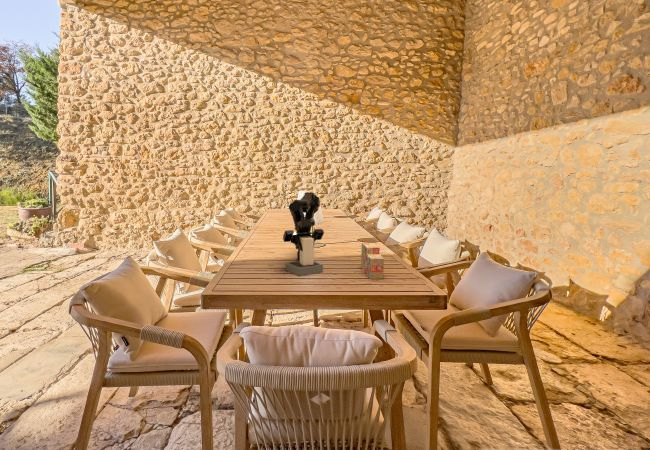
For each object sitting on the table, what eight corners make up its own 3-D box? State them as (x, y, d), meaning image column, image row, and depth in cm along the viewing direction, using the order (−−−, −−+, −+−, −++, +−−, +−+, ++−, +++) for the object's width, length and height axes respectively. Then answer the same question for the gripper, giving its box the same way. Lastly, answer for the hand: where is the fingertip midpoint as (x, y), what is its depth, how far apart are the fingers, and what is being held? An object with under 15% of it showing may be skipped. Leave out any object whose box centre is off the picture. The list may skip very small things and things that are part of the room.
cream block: (299, 262, 174) (299, 237, 173) (309, 261, 176) (310, 236, 175) (303, 265, 170) (303, 239, 168) (313, 264, 172) (313, 238, 170)
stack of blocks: (383, 279, 165) (384, 251, 163) (369, 279, 164) (370, 251, 163) (373, 266, 186) (374, 242, 184) (360, 266, 185) (361, 242, 184)
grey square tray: (307, 266, 184) (307, 259, 183) (322, 272, 174) (322, 264, 173) (285, 270, 176) (285, 262, 176) (300, 276, 166) (300, 268, 166)
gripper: (284, 213, 170) (291, 241, 161) (322, 211, 177) (331, 239, 168) (280, 227, 178) (286, 255, 170) (316, 226, 185) (324, 252, 177)
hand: (307, 250), depth 171 cm, fingers closed on cream block, 5 cm apart
